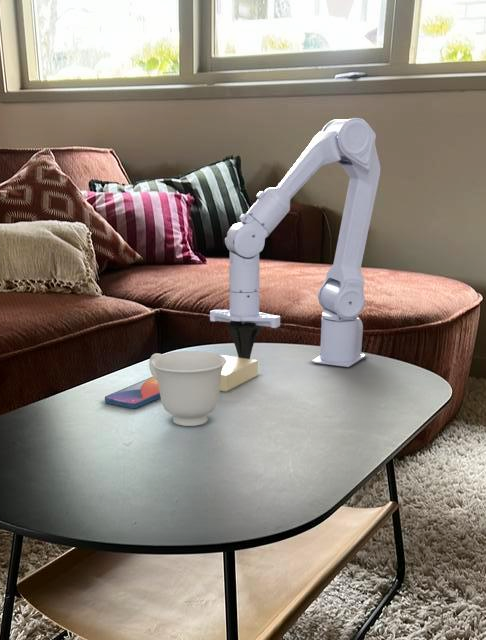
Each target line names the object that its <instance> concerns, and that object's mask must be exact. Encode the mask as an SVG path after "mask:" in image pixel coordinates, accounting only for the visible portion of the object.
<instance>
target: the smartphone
mask: <svg viewBox="0 0 486 640" xmlns="http://www.w3.org/2000/svg"><path fill="white" fill-rule="evenodd" d="M159 398H161V397H160V391H159V386H158V381H157V380H156V379H155V378H154V377H153V376H151V377H148V378H145V379H144V380H141V381H137V382H136V383H134V384H132V385H130V386H126V387H124V388H122V389H119V390H117V391H115V392H112V393H110V394H108V395H105V396H104V402H105V403H106V404H111V405H114V406H120V407H125V408H128V409H136V408H140V407H142V406H144V405H146V404H149V403H151V402H153V401H155V400H157V399H159Z"/></svg>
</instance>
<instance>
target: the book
mask: <svg viewBox="0 0 486 640" xmlns="http://www.w3.org/2000/svg"><path fill="white" fill-rule="evenodd" d="M220 355H221V356H223V357H224V358H225V359H226V360H227V362H226V364H225V365H224V366H223V369H222V374H221V381H220V390H219V392H228V391H230V390H233V389H234V388H236V387H238V386H240V385H242V384H244V383H245V382H247V381H250V380H251V379H253V378H255V377H257V376H258V374H259V373H258V371H259V369H258V367H259V365H258V364H259V360H257V359H251V358H250V359H245V358H238V356H230V355H223V354H220Z"/></svg>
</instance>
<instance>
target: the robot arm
mask: <svg viewBox="0 0 486 640" xmlns="http://www.w3.org/2000/svg"><path fill="white" fill-rule="evenodd" d="M376 139H377V134H376V133H375V131H374V130H373V128H371V126H370V125H369V124H368V122H367V121H365V120H364V119H363V118H360V117H352V118H349V119H341V118H339V119H338V118H336V119H332V120H329V121H328V122H327V123H326V124H325V125H324V126H323V128H322V130H321V131H319V132H318V133H317V134H316V135H314V137H313V138H312V140H311V141H310V143H309V144H308V146H306V148H305V149H304V151H303V152H302V153H301V155H300V156H299V157H298V158H297V159H296V162H295V163H294V164H293V166H292V167H291V168H290V169H289V170H288V171H287V173H286V174H285V176H284V177H283V178H282V179H281V181H280V182H279V183H278V184H277V186H276V187H267V188H266V189H265V190H264V191H263V190H260V191H259V192H258V193H257V194H256V195H255V196H256V198H257V199H256V201H255V202H254V203H252V205H251V207H250V208H249V209H248V211H246V213H242V214H241V215H240V216H239V217H238V218H239V220H240V222H237V223H234V224H232V226H230V228H229V229H228V231H227V232H226V237H225V238H224V243H225V246H226V248H227V250H228V251H229V265H228V275H229V276H228V280H229V281H228V285H229V286H228V287H229V288H228V291H229V294H228V295H229V309H213V310H210V311H209V321H210V322H224V323H230V324H229V325H228V326H227V328H226V329H227V332H228V334H229V336H230V337H231V339H232V342H233V345H234V347H235V349H236V354H237V357H238V358H245V359H251V355H252V351H253V348H254V345H255V343H256V339H257V337H258V335H259V333H260V331H261V329H262V327H270V328H271V329H277V328H279V327H281V316H280V315H274V314H270V313H267V312H266V313H265V312H260V275H261V274H260V271H261V269H260V253H261V252H263V250H264V247H265V242H266V238H268V237H269V236H270V235H271V233H272V232H273V231H274V230H275V229H276V227H277V226H278V225H279V224H280V223H281V221H282V220H283V219H284V218H285V217H286V215H287V214H288V213H289V212H290V211H291V200H292V198H293V197H294V196H295V195H296V194H297V193H298V191H300V189H302V187H303V186H304V185H305V184H306V183H307V182H308V181H309V180H310V179H311V178H312V177H313V176H314V175H315V174H316V172H317V171H318V170H319V169H320V168H321V167H323V166H325V165H329V164H332V163H336V162H337V163H338V164H340V166H341V167H342V169H343V170H344V172H345V173H346V175H347V176H348V177H349V181H348V186H347V190H346V197H345V202H344V207H343V211H342V217H341V223H340V227H339V231H338V232H339V234H338V238H337V243H336V249H335V254H334V259H333V264H332V265H331V267H330V268H329V269H328V271H327V272H326V275H325V280H324V282H323V283H322V284H321V285H320V287H319V290H318V294H317V299H318V303H319V305H320V307H321V308H322V313H321V327H320V329H321V330H320V344H319V345H320V346H319V347H320V348H319V356H317V357H315V358H313V359H312V360H311V362H312V363H314V364H320V365H321V364H322V365H329V366H335V367H343V368H349V367H351V366H353V365H354V364H356V363H358V362H359V361H361V360H363V359H364V358H365V357H366V354H364V353H362V347H363V333H364V325H363V321H362V320H361V318H360V316H359V315H360V314H361V313H362V311H363V310H364V308H365V304H366V298H365V293H364V287H365V278H364V275H363V273H362V264H363V259H364V254H365V249H366V246H367V245H366V244H367V240H368V233H369V229H370V225H371V220H372V215H373V212H374V211H373V210H374V206H375V201H376V196H377V191H378V185H379V181H380V178H381V177H380V175H381V169H382V168H381V163H380V159H379V155H378V150H377V146H376Z"/></svg>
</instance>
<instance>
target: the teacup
mask: <svg viewBox="0 0 486 640" xmlns="http://www.w3.org/2000/svg"><path fill="white" fill-rule="evenodd" d="M221 355H222V354H219V353H216V352H211V351H204V350H203V351H201V350H186V351H185V350H182V351H172V352H167V353H163V354H161V353H157V352H156V353H153V354H152V355H151V356H150V358H149V361H148V366H149V371H150V374H151V375H152V377H154V378H155V379H156V380H157V381H158V386H159V391H160V397H159V398H160V401H161V404H162V406H163V409H164V410H165V412H167V413H168V414H170V415H172V416H173V418H172V422H173V423H174V424H175V425H178V426H183V427H196V426H201V425H204V424H205V423H207V422H208V421H209V417H208V415H209V414H211V413H212V412H213V411H214V410H215V409H216V408H217V405H218V402H219V397H220V381H221V374H222V369H223V366H224V365H225V364H226V362H227V360H226V359H225V358H224V357H223V356H221Z"/></svg>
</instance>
